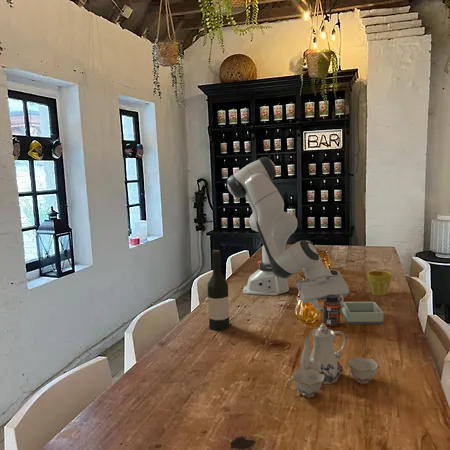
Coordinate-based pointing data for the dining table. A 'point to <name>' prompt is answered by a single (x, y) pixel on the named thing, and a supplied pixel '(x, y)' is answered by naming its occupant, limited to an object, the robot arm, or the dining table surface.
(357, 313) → the grey-green square tray
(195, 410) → the dining table surface
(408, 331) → the dining table surface
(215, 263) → the wine bottle
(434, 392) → the dining table surface
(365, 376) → the chinaware
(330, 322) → the supplement bottle
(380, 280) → the plant pot
